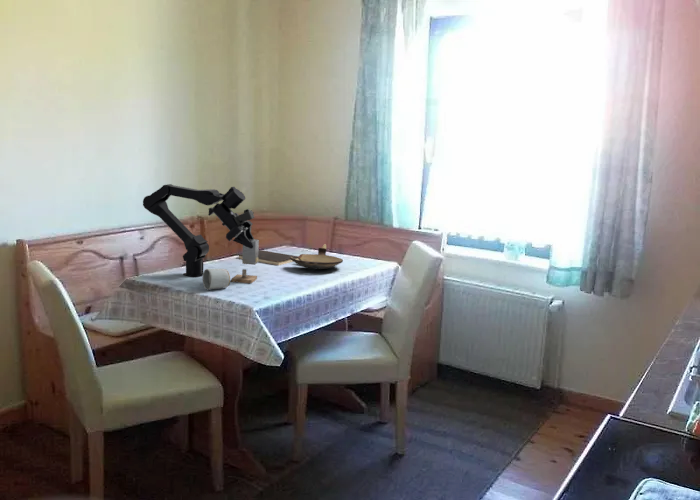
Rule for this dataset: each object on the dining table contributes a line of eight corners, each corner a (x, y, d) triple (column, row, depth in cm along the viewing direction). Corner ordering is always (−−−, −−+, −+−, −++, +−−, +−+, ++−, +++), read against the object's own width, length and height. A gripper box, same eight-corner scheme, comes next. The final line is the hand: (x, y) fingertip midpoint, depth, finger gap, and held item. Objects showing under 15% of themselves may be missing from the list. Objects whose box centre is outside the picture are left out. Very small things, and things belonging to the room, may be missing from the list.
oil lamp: (278, 269, 283) (278, 251, 281) (316, 258, 309) (316, 242, 307) (323, 277, 272) (324, 258, 271) (359, 265, 298) (359, 248, 297)
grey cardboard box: (241, 263, 259) (242, 240, 257) (244, 261, 264) (245, 238, 262) (255, 264, 258) (256, 241, 257) (258, 262, 263) (259, 239, 262)
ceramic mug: (231, 289, 246) (231, 268, 245) (210, 291, 241) (210, 271, 240) (218, 283, 255) (218, 264, 253) (198, 286, 250) (198, 266, 248)
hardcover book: (278, 266, 291) (278, 261, 290) (237, 259, 302) (237, 254, 302) (300, 261, 304) (300, 256, 304) (260, 254, 316) (260, 249, 315)
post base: (231, 281, 258) (231, 271, 257) (237, 277, 265) (237, 266, 265) (251, 283, 257) (251, 272, 256) (256, 278, 264) (257, 268, 264)
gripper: (235, 205, 248) (263, 237, 249) (248, 200, 266) (274, 229, 267) (213, 225, 250) (242, 256, 251) (228, 218, 269) (254, 247, 269)
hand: (254, 246), depth 260 cm, fingers closed on grey cardboard box, 5 cm apart
